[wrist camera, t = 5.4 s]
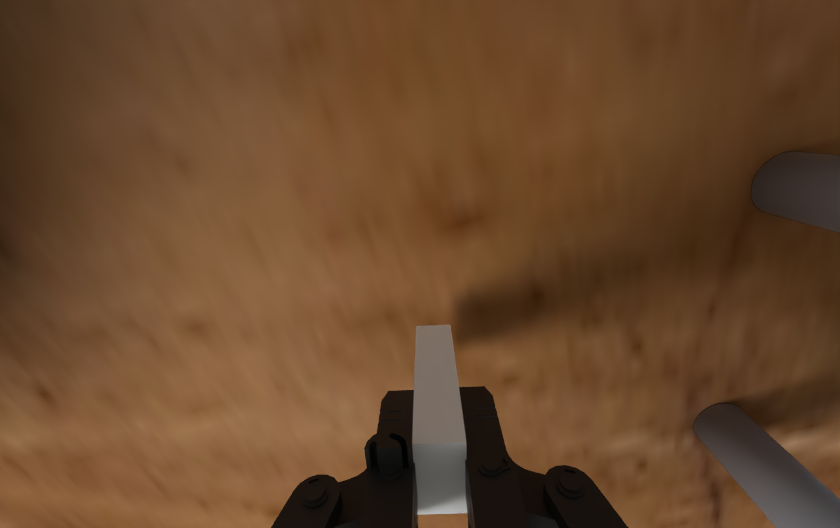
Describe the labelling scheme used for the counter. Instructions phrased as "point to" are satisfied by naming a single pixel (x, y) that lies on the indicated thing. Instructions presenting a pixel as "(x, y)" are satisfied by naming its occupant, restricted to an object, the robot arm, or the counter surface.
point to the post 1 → (800, 188)
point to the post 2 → (766, 470)
